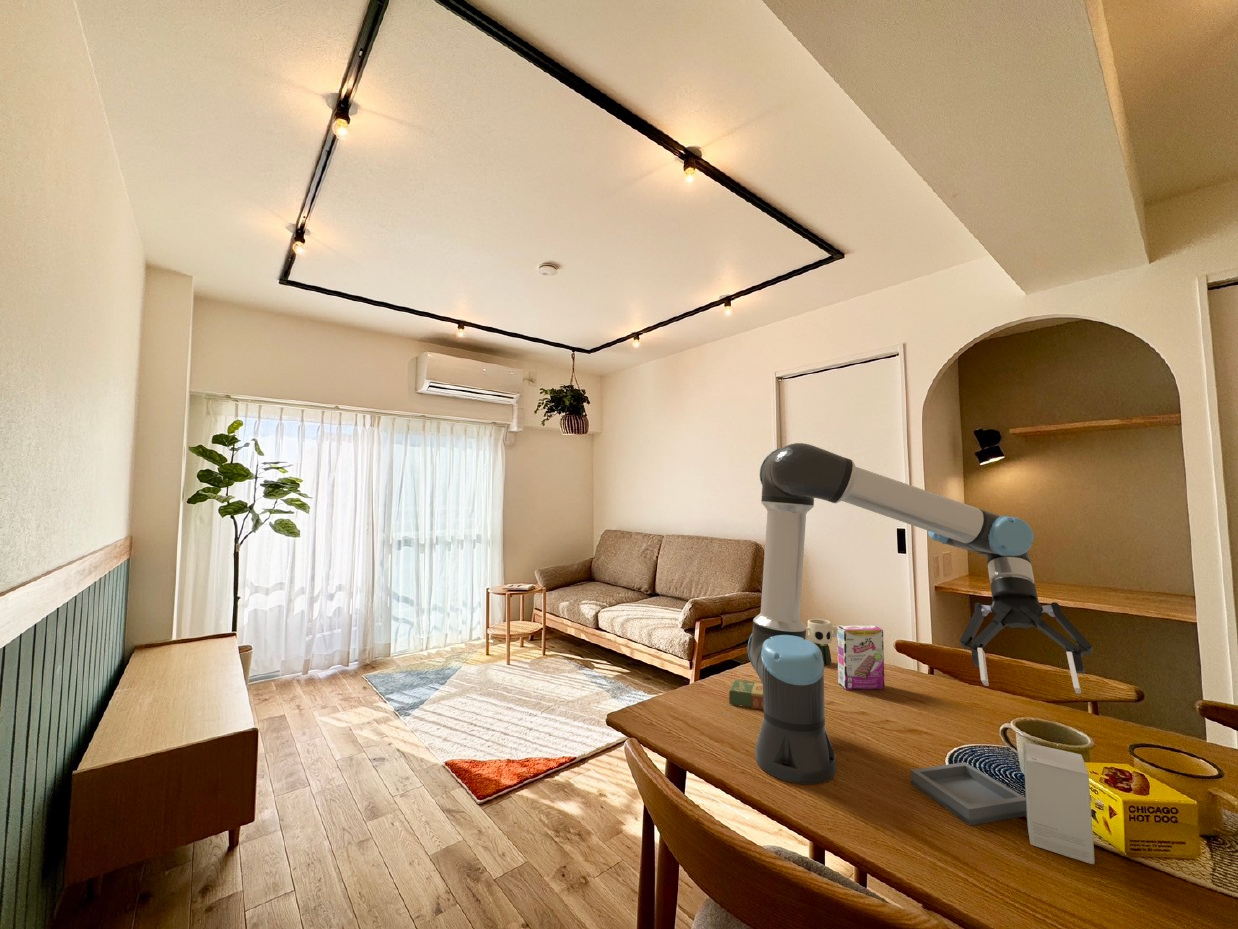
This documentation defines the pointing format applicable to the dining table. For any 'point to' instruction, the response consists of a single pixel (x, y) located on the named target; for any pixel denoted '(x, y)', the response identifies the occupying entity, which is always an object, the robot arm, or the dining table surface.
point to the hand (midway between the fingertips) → (1029, 687)
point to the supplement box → (1058, 802)
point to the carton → (746, 694)
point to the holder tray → (969, 793)
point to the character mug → (821, 636)
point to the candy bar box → (860, 657)
